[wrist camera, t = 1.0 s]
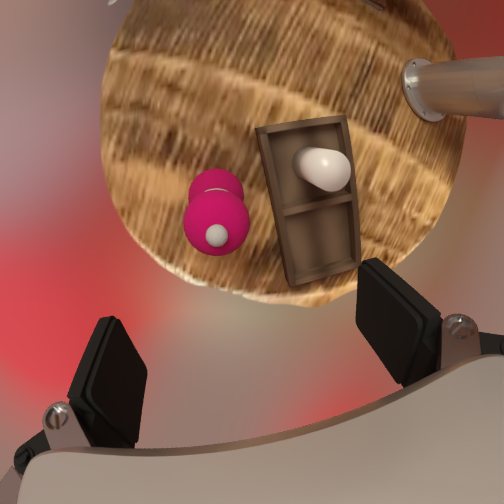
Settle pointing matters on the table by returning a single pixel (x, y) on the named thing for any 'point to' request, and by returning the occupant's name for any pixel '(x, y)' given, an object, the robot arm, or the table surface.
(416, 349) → the robot arm
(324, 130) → the walnut cruet tray
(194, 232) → the pepper mill
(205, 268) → the table surface
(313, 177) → the salt shaker
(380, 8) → the spiral ramp tower
